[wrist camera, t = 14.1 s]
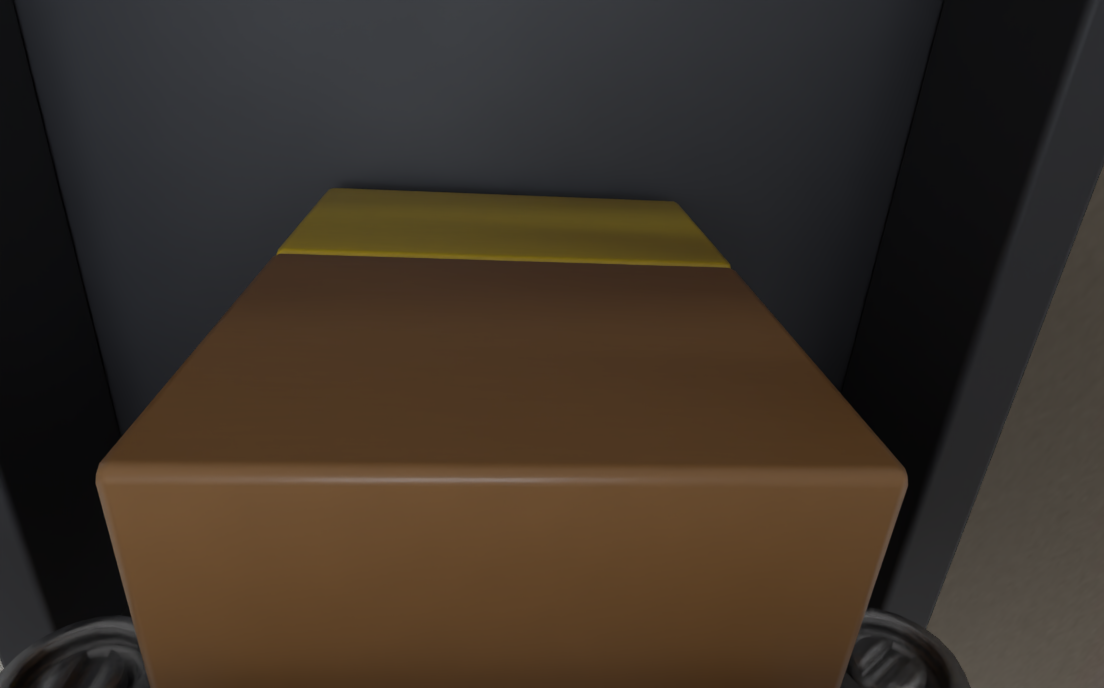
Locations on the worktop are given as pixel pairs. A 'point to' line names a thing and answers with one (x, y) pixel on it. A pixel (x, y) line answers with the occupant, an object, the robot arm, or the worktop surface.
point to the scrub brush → (498, 465)
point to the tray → (535, 170)
